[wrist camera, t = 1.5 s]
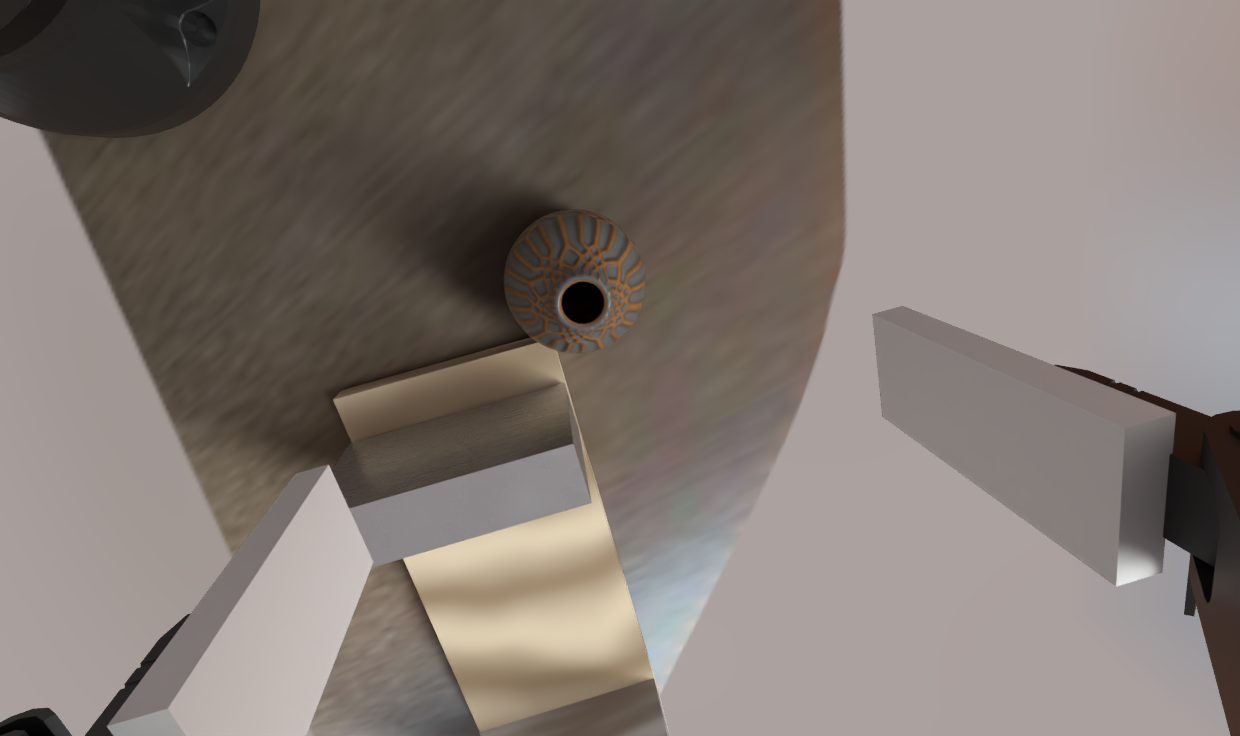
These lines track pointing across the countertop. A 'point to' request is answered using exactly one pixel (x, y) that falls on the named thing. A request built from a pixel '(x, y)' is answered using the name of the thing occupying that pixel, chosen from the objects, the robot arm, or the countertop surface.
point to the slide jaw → (464, 474)
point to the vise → (522, 576)
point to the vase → (574, 281)
